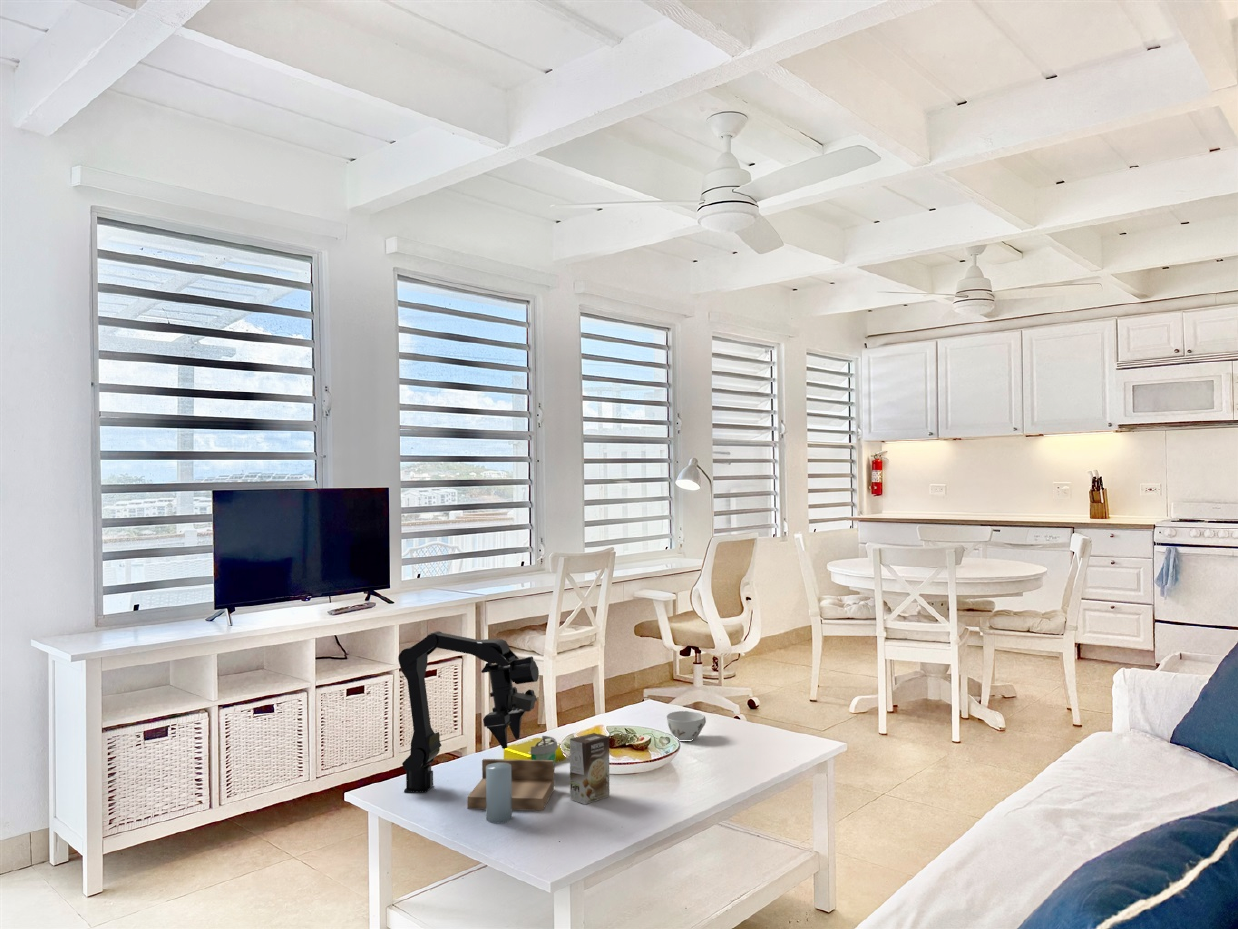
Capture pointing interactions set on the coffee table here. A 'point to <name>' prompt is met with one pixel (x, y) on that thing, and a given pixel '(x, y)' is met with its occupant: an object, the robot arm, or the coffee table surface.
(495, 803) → the frosted glass cup
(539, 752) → the food container
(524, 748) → the yellow bowl
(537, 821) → the coffee table surface
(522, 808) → the shelf
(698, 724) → the teacup
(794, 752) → the coffee table surface
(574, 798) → the coffee box
